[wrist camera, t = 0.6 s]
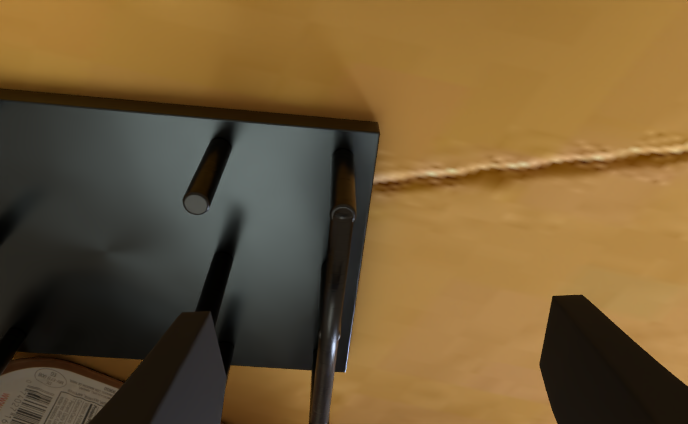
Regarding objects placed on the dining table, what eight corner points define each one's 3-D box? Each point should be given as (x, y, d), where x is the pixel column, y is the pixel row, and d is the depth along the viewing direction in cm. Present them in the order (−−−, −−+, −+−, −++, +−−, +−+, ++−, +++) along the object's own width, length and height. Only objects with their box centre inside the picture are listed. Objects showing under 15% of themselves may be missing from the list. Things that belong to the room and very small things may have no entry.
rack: (345, 356, 26) (346, 450, 22) (-92, 328, 25) (-180, 421, 21) (378, 121, 20) (388, 189, 16) (-206, 69, 19) (-365, 127, 14)
